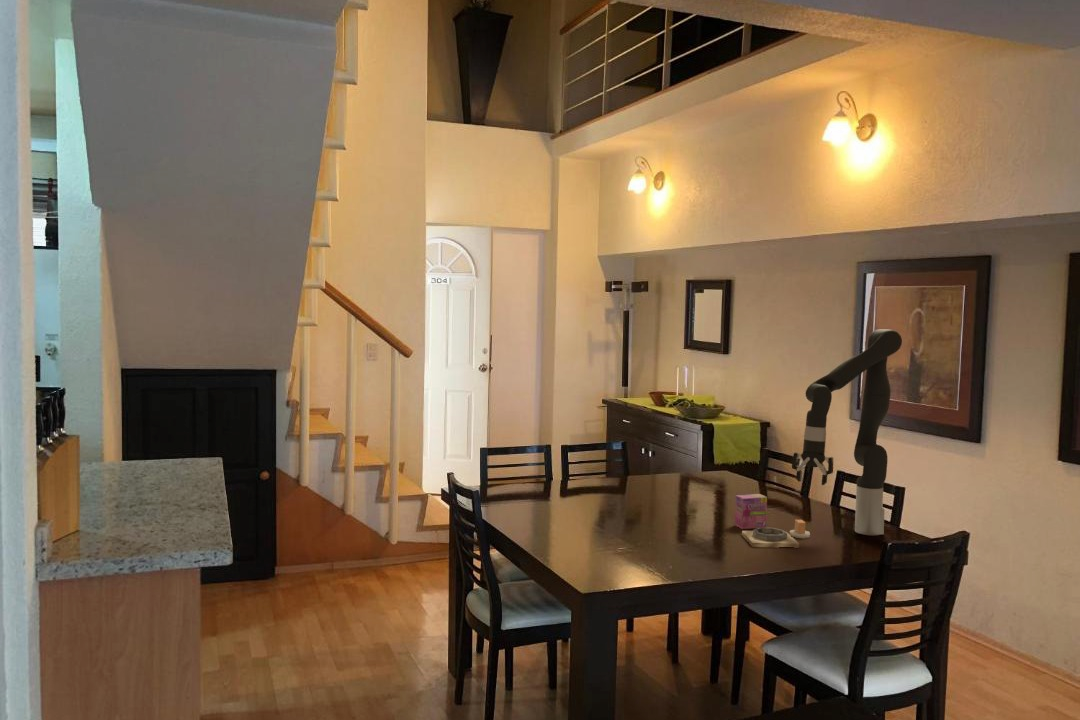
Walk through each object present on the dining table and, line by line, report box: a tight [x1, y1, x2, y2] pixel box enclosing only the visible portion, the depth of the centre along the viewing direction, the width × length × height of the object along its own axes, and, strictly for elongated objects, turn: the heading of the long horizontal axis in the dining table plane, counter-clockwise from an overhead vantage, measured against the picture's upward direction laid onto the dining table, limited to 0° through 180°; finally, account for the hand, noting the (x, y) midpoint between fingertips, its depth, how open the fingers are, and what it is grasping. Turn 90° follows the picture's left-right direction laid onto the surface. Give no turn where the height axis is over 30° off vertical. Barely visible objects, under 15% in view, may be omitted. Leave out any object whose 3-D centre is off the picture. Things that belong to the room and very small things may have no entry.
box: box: [734, 493, 768, 530], centre depth 324 cm, size 10×6×12 cm, turn 105°
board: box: [741, 530, 800, 549], centre depth 304 cm, size 16×16×2 cm
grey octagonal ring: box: [752, 526, 788, 541], centre depth 304 cm, size 11×11×2 cm
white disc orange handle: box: [789, 519, 811, 539], centre depth 312 cm, size 7×7×6 cm
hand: (811, 483), depth 314 cm, fingers open, 8 cm apart
